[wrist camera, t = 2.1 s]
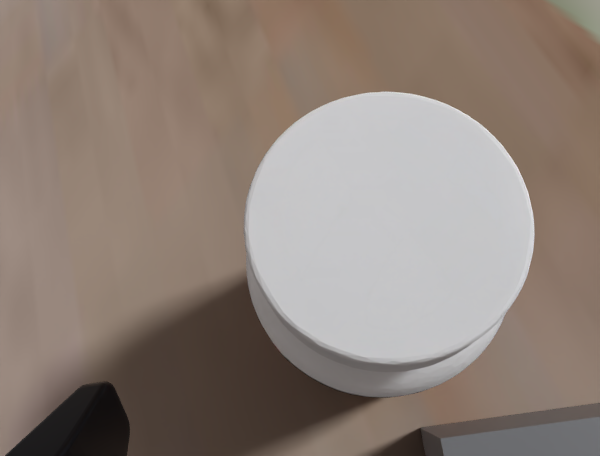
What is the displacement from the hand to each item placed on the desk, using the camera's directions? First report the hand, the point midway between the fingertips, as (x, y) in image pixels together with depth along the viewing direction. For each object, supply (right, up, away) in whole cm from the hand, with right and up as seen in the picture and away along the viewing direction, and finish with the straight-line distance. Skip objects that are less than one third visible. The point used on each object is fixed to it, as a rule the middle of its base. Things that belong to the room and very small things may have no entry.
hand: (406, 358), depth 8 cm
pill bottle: (+1, -1, +10) cm, 10 cm away
